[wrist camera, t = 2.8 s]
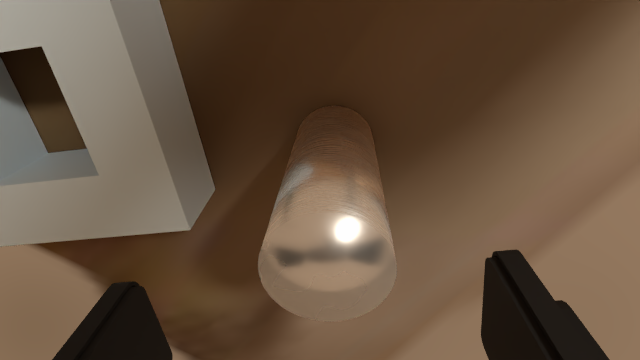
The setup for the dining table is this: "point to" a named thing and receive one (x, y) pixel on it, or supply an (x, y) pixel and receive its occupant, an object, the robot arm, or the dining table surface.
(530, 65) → the dining table surface
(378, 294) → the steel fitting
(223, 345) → the dining table surface
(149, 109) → the manifold block
